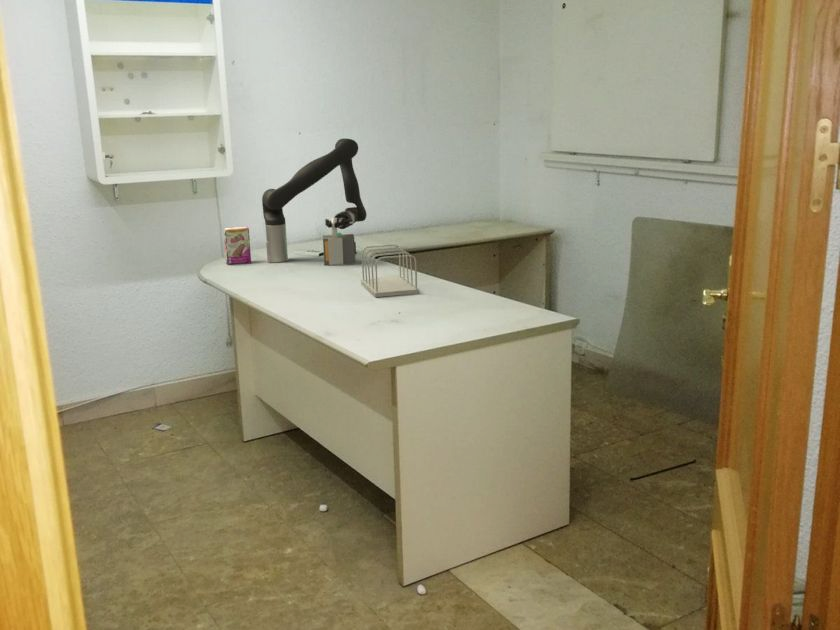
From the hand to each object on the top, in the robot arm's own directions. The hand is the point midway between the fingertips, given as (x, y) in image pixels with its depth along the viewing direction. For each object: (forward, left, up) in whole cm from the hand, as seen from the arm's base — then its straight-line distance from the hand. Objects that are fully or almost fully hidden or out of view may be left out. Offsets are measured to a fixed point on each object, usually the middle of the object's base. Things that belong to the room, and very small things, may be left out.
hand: (332, 225), depth 362 cm
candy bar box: (-44, +18, -19) cm, 51 cm away
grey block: (+3, +8, -19) cm, 20 cm away
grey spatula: (+1, +3, -18) cm, 18 cm away
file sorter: (+21, -49, -19) cm, 57 cm away
